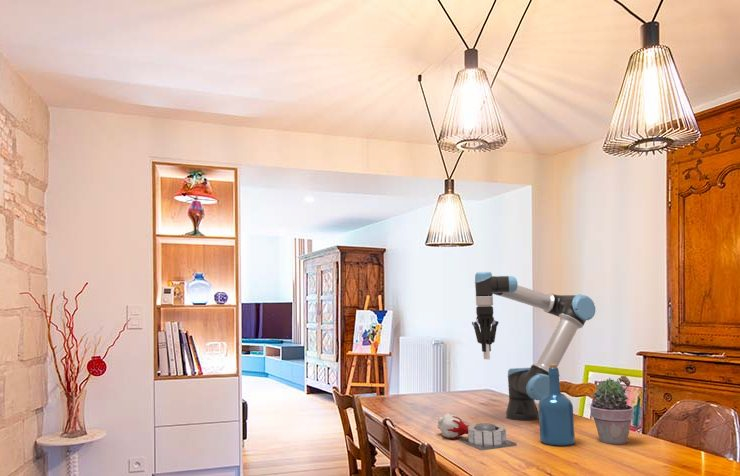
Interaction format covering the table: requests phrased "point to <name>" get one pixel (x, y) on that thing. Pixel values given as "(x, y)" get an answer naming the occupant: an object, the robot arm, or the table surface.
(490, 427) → the cap
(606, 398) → the potted plant
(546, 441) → the wine bottle
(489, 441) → the square flange collar
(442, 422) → the candle
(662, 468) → the table surface
